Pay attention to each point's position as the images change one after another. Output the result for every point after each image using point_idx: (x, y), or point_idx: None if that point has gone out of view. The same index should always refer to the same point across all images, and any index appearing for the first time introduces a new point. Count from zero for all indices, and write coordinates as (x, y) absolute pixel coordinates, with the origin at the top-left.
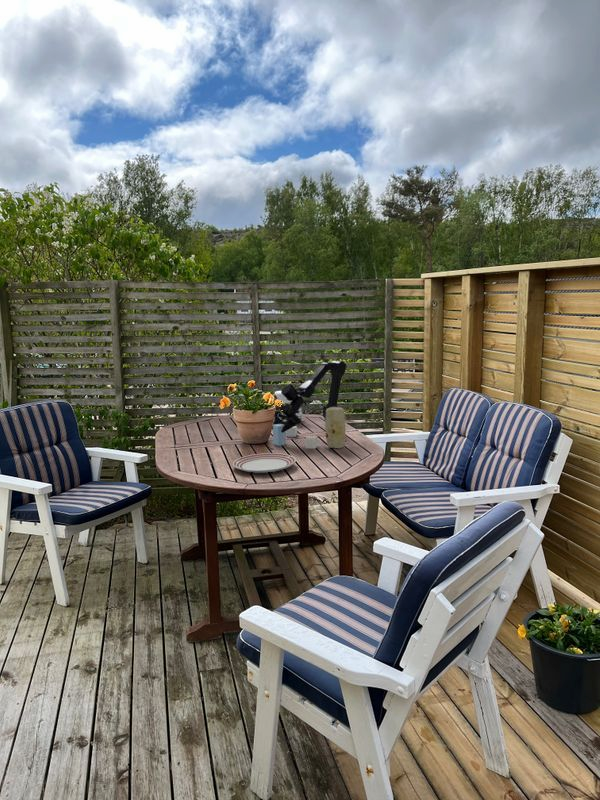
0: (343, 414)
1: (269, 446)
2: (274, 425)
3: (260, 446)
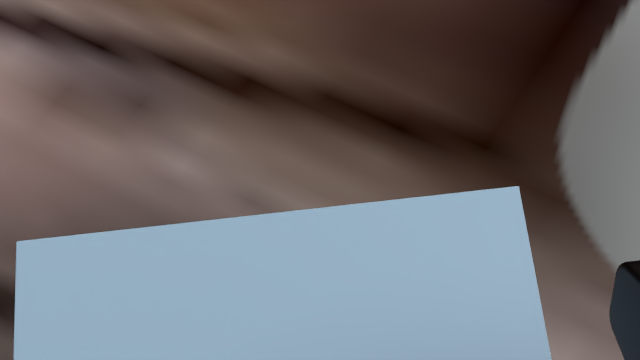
0: None
1: (291, 137)
2: (358, 207)
3: (387, 9)
